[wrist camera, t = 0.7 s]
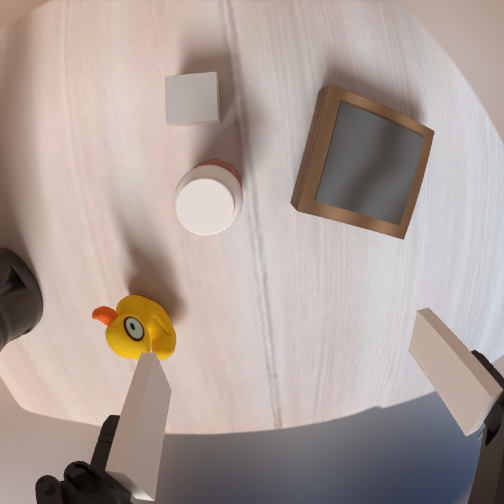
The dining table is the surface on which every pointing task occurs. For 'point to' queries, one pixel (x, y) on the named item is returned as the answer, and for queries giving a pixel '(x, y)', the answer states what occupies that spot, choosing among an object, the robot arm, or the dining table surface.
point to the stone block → (192, 99)
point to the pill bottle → (209, 197)
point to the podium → (362, 163)
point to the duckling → (138, 328)
